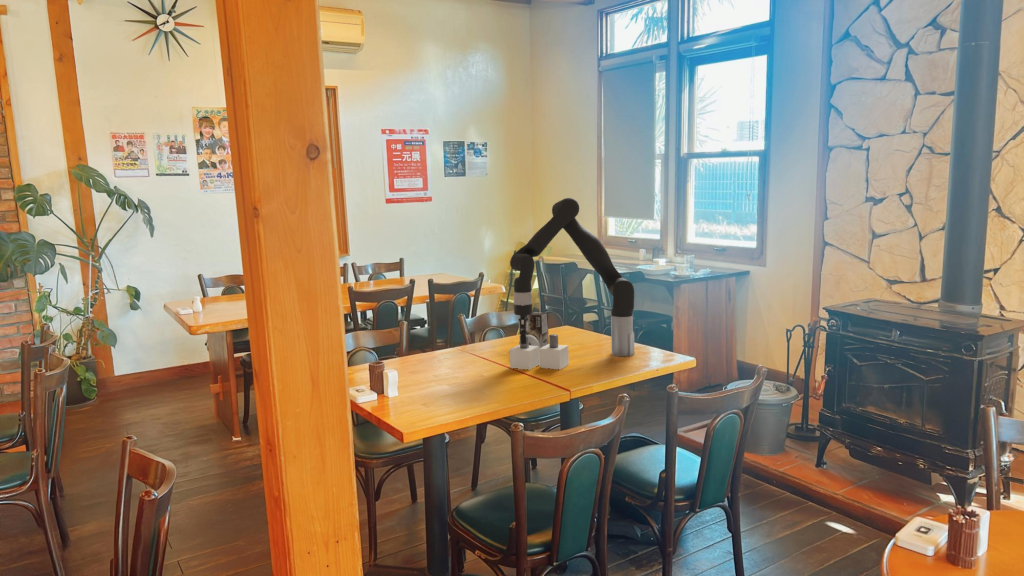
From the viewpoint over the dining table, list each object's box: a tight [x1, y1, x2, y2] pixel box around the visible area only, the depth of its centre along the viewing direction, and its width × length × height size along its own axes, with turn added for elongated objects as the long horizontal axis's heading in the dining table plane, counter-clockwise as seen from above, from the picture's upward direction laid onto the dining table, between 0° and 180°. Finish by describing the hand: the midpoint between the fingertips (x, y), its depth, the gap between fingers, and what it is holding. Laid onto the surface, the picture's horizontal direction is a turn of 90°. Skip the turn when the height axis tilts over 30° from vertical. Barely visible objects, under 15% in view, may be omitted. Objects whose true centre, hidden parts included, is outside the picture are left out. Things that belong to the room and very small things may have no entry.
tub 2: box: [539, 333, 570, 371], centre depth 274 cm, size 9×9×13 cm
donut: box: [518, 335, 540, 348], centre depth 291 cm, size 10×4×10 cm, turn 60°
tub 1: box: [509, 334, 540, 371], centre depth 275 cm, size 9×9×13 cm
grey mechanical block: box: [526, 311, 550, 349], centre depth 310 cm, size 9×6×16 cm
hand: (523, 341), depth 274 cm, fingers open, 8 cm apart
